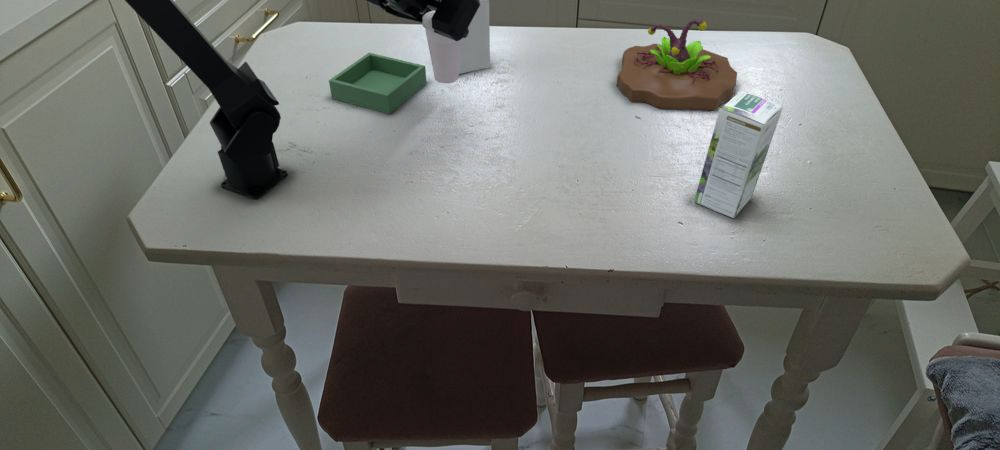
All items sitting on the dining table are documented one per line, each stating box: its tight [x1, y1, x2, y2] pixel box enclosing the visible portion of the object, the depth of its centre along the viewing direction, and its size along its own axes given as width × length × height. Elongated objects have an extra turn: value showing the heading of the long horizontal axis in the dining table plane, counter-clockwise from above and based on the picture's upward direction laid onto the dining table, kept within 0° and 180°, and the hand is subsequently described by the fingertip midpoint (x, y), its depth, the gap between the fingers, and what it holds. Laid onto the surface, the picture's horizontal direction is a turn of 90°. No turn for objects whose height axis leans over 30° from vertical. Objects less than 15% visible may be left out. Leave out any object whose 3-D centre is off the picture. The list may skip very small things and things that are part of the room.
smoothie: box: [421, 10, 462, 84], centre depth 95 cm, size 6×6×14 cm
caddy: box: [328, 52, 427, 115], centre depth 107 cm, size 11×11×3 cm
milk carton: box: [438, 0, 491, 75], centre depth 110 cm, size 7×7×19 cm
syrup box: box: [693, 91, 784, 219], centre depth 81 cm, size 6×6×14 cm
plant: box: [616, 18, 738, 111], centre depth 107 cm, size 20×20×11 cm
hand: (451, 28), depth 96 cm, fingers closed on smoothie, 6 cm apart
